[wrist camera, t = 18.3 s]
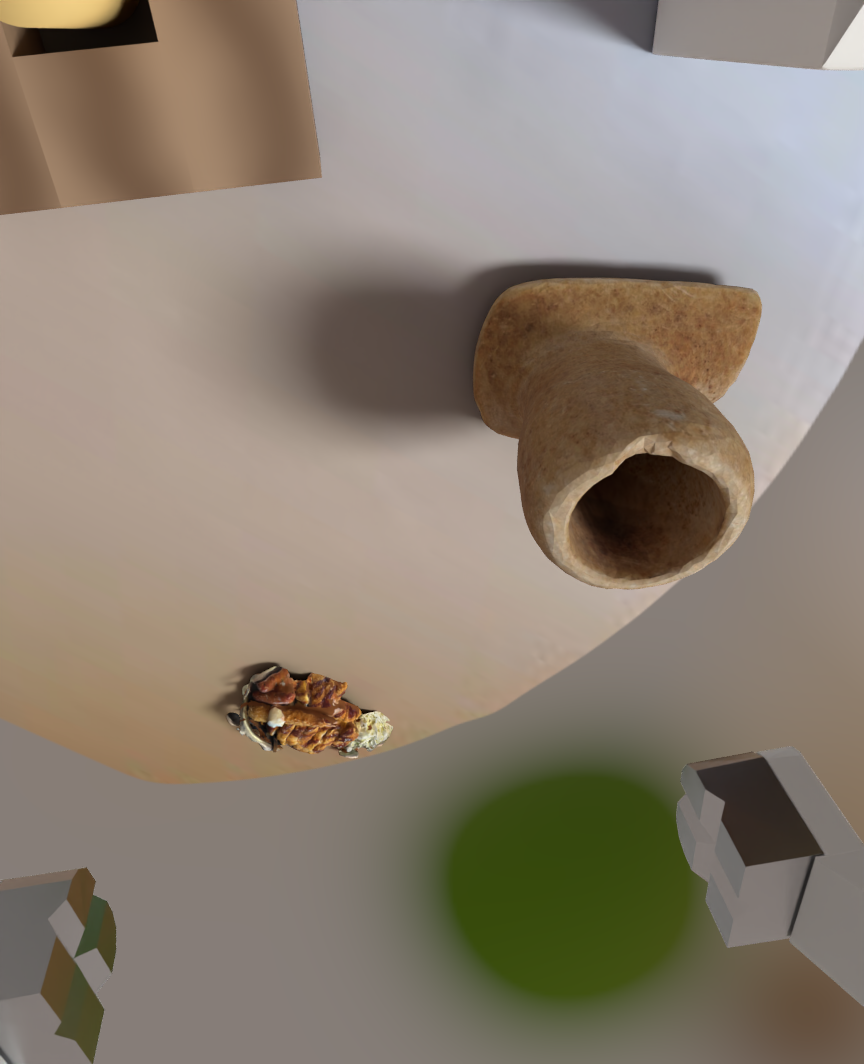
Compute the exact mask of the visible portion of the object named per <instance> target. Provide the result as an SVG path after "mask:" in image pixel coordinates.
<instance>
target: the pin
mask: <svg viewBox="0 0 864 1064" xmlns="http://www.w3.org/2000/svg"><path fill="white" fill-rule="evenodd" d="M138 2H139V0H0V21H1V22H4V23H7V24H9V25H13V26H17V27H25V28H71V29H107V28H112V27H115V26H118V25H120V24H121V23H123V22H124V21H126V20H127V19H128V18H129V17H130V16H131V15H132V13H133V12H134V10H135V9H136V7H137V5H138Z"/></svg>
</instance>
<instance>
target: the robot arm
mask: <svg viewBox="0 0 864 1064" xmlns="http://www.w3.org/2000/svg"><path fill="white" fill-rule="evenodd" d="M681 784H682V786H683V788H684V790H685V792H686V794H685V795H684V796H683V797H682V799H680V800H679V802H678V804H677V816H676V820H677V826H678V833H679V838H680V841H681V844H682V847H683V851H684V854H685V856H686V858H687V860H688V862H689V865H690V867H691V870H692V871H694V872H695V873H696V874H698V875H699V876H700V877H702V878H703V879H704V880H706V881H707V882H708V883H709V884H708V890H707V896H706V903H707V905H708V907H709V909H710V911H711V913H712V916H713V918H714V920H715V922H716V924H717V926H718V928H719V931H720V933H721V935H722V937H723V939H724V941H725V944H726V946H727V948H729V947H734V946H735V947H736V946H742V945H748V944H754V943H761V942H768V941H774V940H781V939H787V938H790V941H789V942H790V943H791V944H792V945H794V946H795V947H796V948H797V949H798V950H799V951H800V952H802V953H803V954H804V955H805V956H806V957H808V959H810V960H811V961H812V962H813V963H814V964H815V965H817V966H818V967H819V968H820V969H821V970H822V971H823V972H825V973H826V974H827V975H828V976H829V977H830V978H832V979H833V980H834V981H835V982H836V983H837V984H838V985H839V986H840V987H842V988H843V989H844V990H845V991H846V992H847V993H849V994H850V995H851V996H852V997H853V998H854V999H855V1000H856V1001H858V1002H859V1003H860V1004H861V1005H862V1006H863V1007H864V844H863V843H862V841H861V840H860V838H859V837H858V836H857V834H856V833H855V831H854V830H853V828H852V827H851V825H850V824H849V822H848V821H847V819H846V818H845V817H844V815H843V814H842V812H841V811H840V810H839V808H838V806H837V805H836V803H835V802H834V801H833V799H832V798H831V796H830V795H829V793H828V792H827V790H826V789H825V787H824V786H823V785H822V783H821V782H820V780H819V779H818V777H817V776H816V774H815V773H814V771H813V770H812V769H811V767H810V766H809V764H808V763H807V761H806V760H805V758H804V757H803V755H802V754H801V752H799V751H798V750H796V749H795V748H794V747H782V748H777V749H771V750H766V751H761V752H757V753H754V752H749V753H743V754H738V755H732V756H727V757H722V758H716V759H711V760H706V761H700V762H696V763H690V764H687V765H686V766H685V767H684V768H683V769H682V775H681ZM95 884H96V881H95V879H94V878H93V876H92V875H91V873H90V871H89V870H88V869H87V867H85V868H79V869H72V870H66V871H59V872H53V873H46V874H39V875H32V876H26V877H20V878H12V879H4V880H0V1064H93V1062H94V1058H95V1053H96V1048H97V1043H98V1038H99V1034H100V1029H101V1024H102V1019H103V1015H104V1008H103V1006H102V1004H101V1002H100V1000H99V998H98V996H97V995H96V993H97V992H98V991H99V990H100V988H101V987H102V986H103V985H104V983H105V982H106V981H107V979H108V978H109V977H110V976H111V974H112V971H113V966H114V960H115V955H116V924H115V920H114V915H113V911H112V910H111V908H110V906H109V904H108V902H107V901H106V900H104V899H101V898H99V897H97V896H95V895H93V892H94V888H95Z"/></svg>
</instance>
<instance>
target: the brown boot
mask: <svg viewBox="0 0 864 1064" xmlns="http://www.w3.org/2000/svg"><path fill="white" fill-rule="evenodd" d="M761 311H762V304H761V300H760V297H759V295H758V293H757V292H756V291H755V290H753V289H750V288H743V287H737V286H727V285H713V284H710V283H698V282H683V281H655V280H643V279H626V278H552V279H542V280H536V281H530V282H525V283H521V284H518V285H515V286H512V287H509V288H508V289H507V290H506V291H504V292H503V293H502V294H501V295H500V296H499V297H498V298H497V299H496V300H495V302H494V304H493V305H492V307H491V309H490V310H489V312H488V314H487V317H486V319H485V321H484V323H483V326H482V329H481V332H480V335H479V338H478V342H477V345H476V349H475V356H474V367H473V392H474V399H475V402H476V404H477V406H478V408H479V410H480V412H481V417H482V419H483V421H484V423H485V424H486V425H487V426H488V427H489V428H490V429H492V430H493V431H495V432H496V433H498V434H501V435H505V436H508V437H511V438H516V439H519V443H518V456H517V472H518V479H519V486H520V493H521V501H522V507H523V512H524V516H525V519H526V523H527V525H528V528H529V530H530V532H531V534H532V536H533V538H534V539H535V541H536V543H537V544H538V546H539V547H540V548H541V550H542V551H543V553H544V554H545V555H546V556H547V558H548V559H549V560H551V561H552V562H553V563H554V564H555V565H557V566H558V567H559V568H560V569H562V570H563V571H564V572H565V573H567V574H569V575H571V576H572V577H574V578H576V579H578V580H579V581H582V582H584V583H586V584H589V585H591V586H596V587H600V588H605V589H613V588H617V589H640V588H647V587H653V586H658V585H664V584H667V583H670V582H673V581H676V580H679V579H682V578H684V577H687V576H689V575H691V574H694V573H696V572H697V571H699V570H701V569H703V568H704V567H705V566H707V565H708V564H709V563H711V562H713V561H715V560H716V559H717V558H718V557H719V556H721V554H723V553H724V552H725V551H726V550H727V549H728V548H729V547H731V546H732V544H733V543H734V542H735V541H736V539H737V538H738V537H739V535H740V533H741V531H742V530H743V528H744V526H745V524H746V523H747V521H748V519H749V515H750V511H751V506H752V501H753V496H754V471H753V467H752V463H751V458H750V454H749V451H748V450H747V448H746V446H745V444H744V442H743V441H742V439H741V437H740V436H739V434H738V433H737V431H736V430H735V428H734V426H733V425H732V424H731V423H730V422H729V421H728V420H727V419H726V418H725V417H724V416H723V415H722V414H721V412H720V411H719V410H718V409H717V408H716V407H715V405H714V404H713V403H714V402H716V401H717V400H718V399H720V398H721V397H723V396H724V394H725V393H726V391H727V390H728V388H729V387H730V386H731V385H732V384H733V383H734V382H735V381H736V379H737V377H738V375H739V373H740V371H741V369H742V368H743V366H744V364H745V362H746V360H747V358H748V356H749V353H750V349H751V346H752V344H753V342H754V340H755V337H756V333H757V329H758V326H759V322H760V318H761Z"/></svg>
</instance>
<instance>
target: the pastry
mask: <svg viewBox="0 0 864 1064" xmlns="http://www.w3.org/2000/svg"><path fill="white" fill-rule="evenodd" d="M289 677H290V674H289V673H288V670H287V669H284V668H282V667H272V668H270V669H269V670H266V671H264V672H262V673H261V674H256V675H253V676H252V678H251V679H250V680H251V681H250V683H249V684H247V685H246V686H244V687H243V688H242V692H243V693H242V694H243V695H244V696H243V698H244V700H243V702H242V704H241V707H240V717H239V715H238V714H236V713H229V714H228V715H227V720H228V722H229V724H230V725H233V726H239V725H240V731H239V732H240V734H241V735H244V734H245V735H246V736H248V737H249V738H250V739H251V740H252V741H254V742H258V743H259V744H260V746H261V747H262V749H263V750H270V751H273V752H276V751H278V750H281V749H283V748H282V747H281V746H280V745H287V746H289V747H291V748H293V749H296V750H298V751H301V752H306V753H309V754H314V753H319V752H321V751H323V750H324V748H325V747H326V746H327V745H328V746H334V747H337V748H338V749H342V750H339V755H341V756H344V757H349V758H357V757H358V751H357V750H358V749H359V748H361V747H363V748H366V749H367V751H372V750H373V749H374V748H376V747H377V746H381V745H382V744H383V743H384V742H385V741H386V740H387V739H388V738H389V736H390V734H391V732H392V729H393V727H392V726H390V725H389V724H388V723H385V722H386V721H390V720H389V719H388V718H387V717H386V716H384V715H383V714H382V713H380V712H378V711H377V712H376V711H375V712H370V713H367V714H362V713H361V710H360V709H359V708H358V706H355V705H353V704H351V703H348V702H345V701H343V700H341V699H340V698H341V697H342V695H343V694H345V690H346V688H347V683H346V682H344V683H341V682H337V681H335V680H332V679H330V678H327V677H324V676H322V675H318V674H314V673H310V675H309V676H308V679H307V680H305V681H301V680H300V681H298V680H295V681H294V680H293V679H292V678H289ZM249 720H250V721H249ZM252 724H254V725H255V726H253V725H252ZM253 729H257V730H259V733H260V736H259V735H258V734H257V733H256V731H254V730H253ZM237 730H239V728H237Z"/></svg>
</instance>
